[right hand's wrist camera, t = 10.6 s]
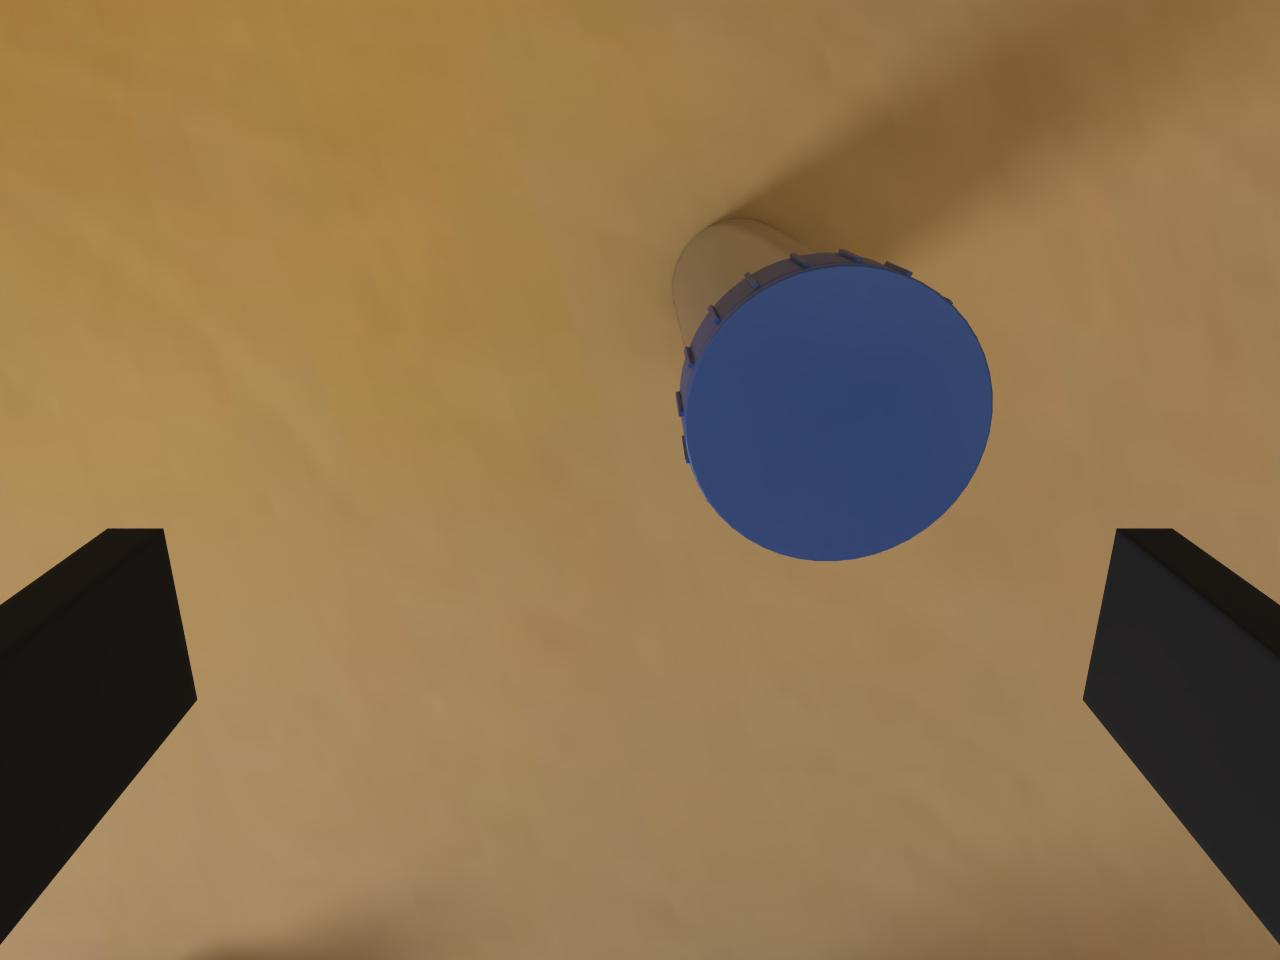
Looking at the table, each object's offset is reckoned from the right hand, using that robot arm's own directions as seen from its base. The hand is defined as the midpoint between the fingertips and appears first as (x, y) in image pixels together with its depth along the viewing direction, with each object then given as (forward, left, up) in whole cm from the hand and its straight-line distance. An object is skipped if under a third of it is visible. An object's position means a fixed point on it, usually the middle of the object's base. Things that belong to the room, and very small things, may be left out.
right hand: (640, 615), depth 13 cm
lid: (-1, -4, -5) cm, 6 cm away
